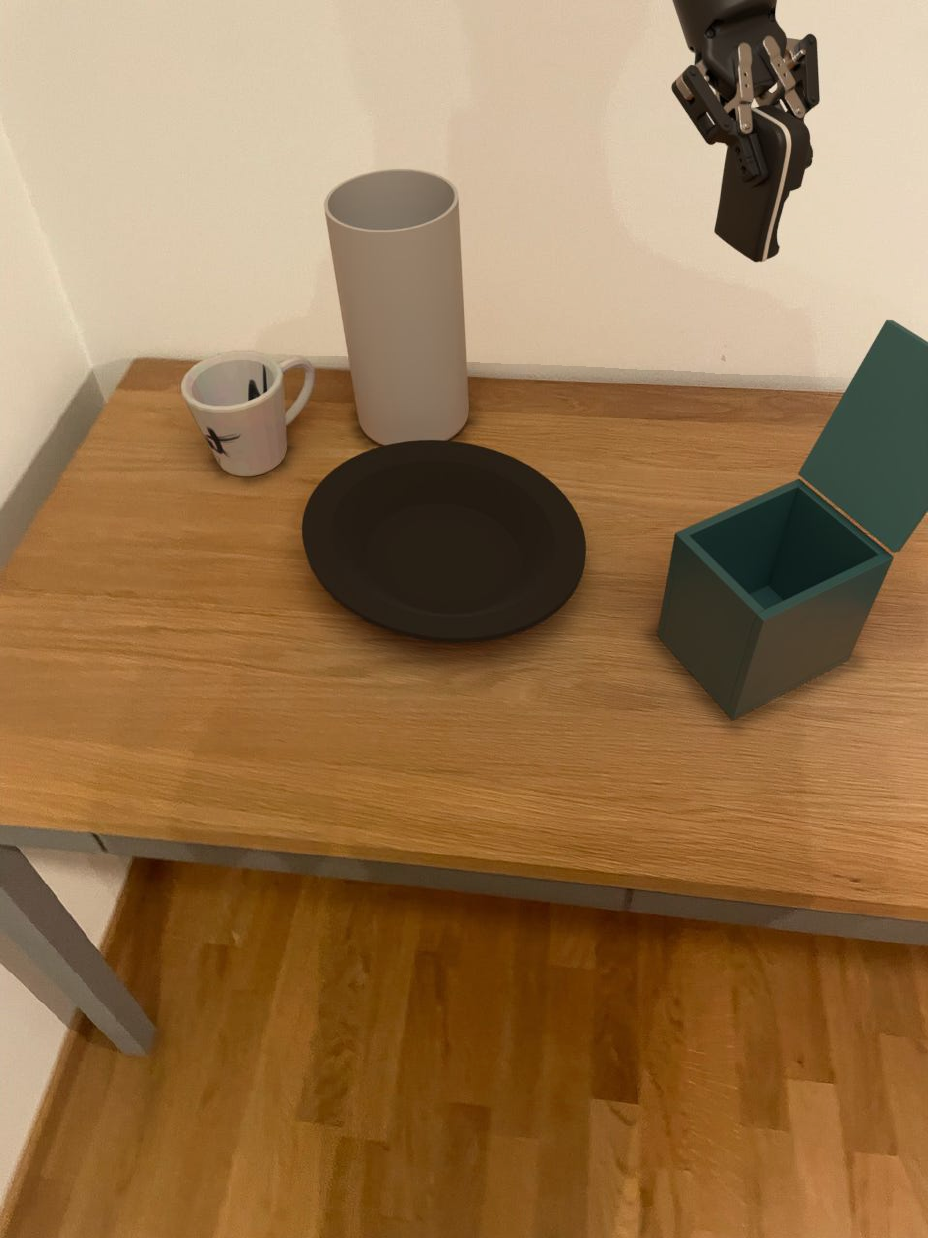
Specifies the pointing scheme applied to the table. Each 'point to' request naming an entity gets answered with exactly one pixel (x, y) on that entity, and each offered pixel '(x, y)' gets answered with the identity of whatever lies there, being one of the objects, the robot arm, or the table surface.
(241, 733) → the table surface
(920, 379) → the cover
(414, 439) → the cylinder vase
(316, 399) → the table surface
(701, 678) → the tray box
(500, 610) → the plate
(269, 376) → the mug
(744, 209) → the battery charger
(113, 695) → the table surface
